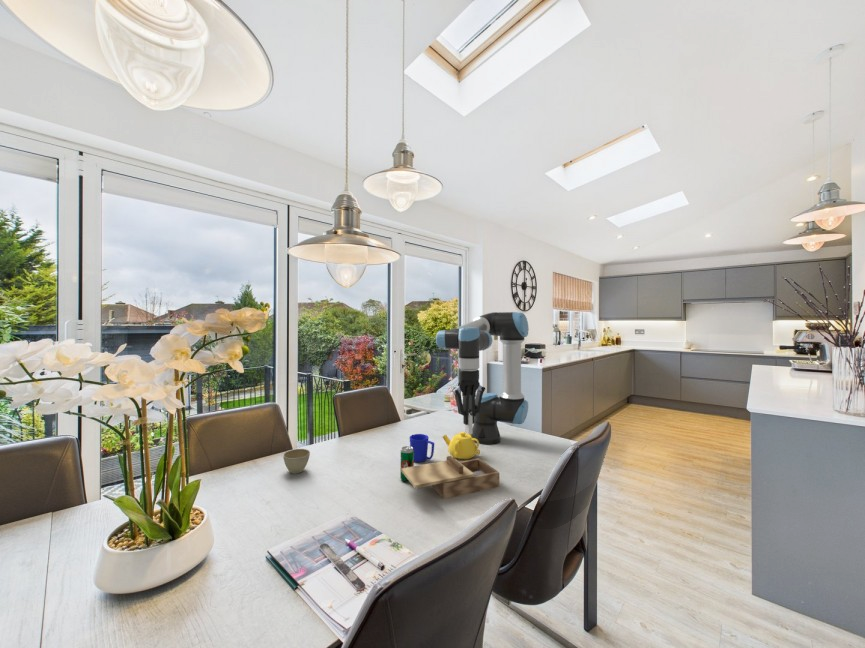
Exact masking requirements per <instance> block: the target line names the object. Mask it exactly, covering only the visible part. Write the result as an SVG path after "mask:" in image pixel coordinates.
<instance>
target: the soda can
mask: <svg viewBox="0 0 865 648" xmlns="http://www.w3.org/2000/svg"><path fill="white" fill-rule="evenodd" d="M413 466H415V461H414V450H413V447H411V446H410V445H406V446H402V447H401V450H400V469H401V468H407V467H413ZM399 475H400V477H399V478H400V480H401V481H402V482H405V483H410V481H409V480H408V479H407V478H406V477H405V475H404V474H403V473H402V472H401V471H400V474H399Z"/></svg>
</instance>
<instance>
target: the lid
mask: <svg viewBox="0 0 865 648" xmlns="http://www.w3.org/2000/svg"><path fill="white" fill-rule="evenodd" d="M452 457H453V456H452V455H449V456H446V460H444V461H437V462H431V463H425V464H420V465H414V466H413V467H407V468H401V467H400V472H402V473H403V474H404V475H405V477H406V478H407V479H408V480H409V481H410V482H409V483H410V485H412V487H413V488H414V489H420V488H424V487H429V486H432V485H435V484H440V483H445V482H450V481H455V480H460V479H465V478H470V477H474V473H473V472H471V471H470V470H469V469H467V468H466V467H465V466H464V465H462V464H461V463H460V462H461V461H459V460H457V459H454V458H452Z"/></svg>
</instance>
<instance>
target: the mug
mask: <svg viewBox="0 0 865 648" xmlns="http://www.w3.org/2000/svg"><path fill="white" fill-rule="evenodd" d="M429 444H430V445H431V451H430V455H429V456H430V457H428V447H429ZM409 446H411V447H413V450H414V463H415V462H416V463H422V462H425V461H426V460H431V459H433V456H434V453H435V442H434V441H431V440H429V436H428V435H427V434H424V433H423V434H422V433H416V434H412V435H410V436H409Z"/></svg>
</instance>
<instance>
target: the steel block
mask: <svg viewBox="0 0 865 648" xmlns="http://www.w3.org/2000/svg"><path fill="white" fill-rule="evenodd" d="M473 473H474V476H477V475H482V474H485V473H484V472H482V471H481V470H480V471H475V472H473Z"/></svg>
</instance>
